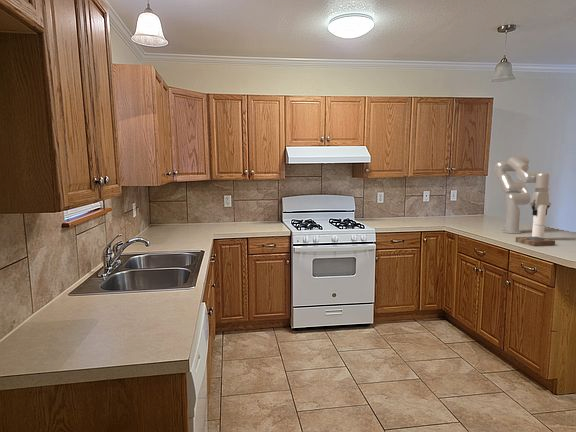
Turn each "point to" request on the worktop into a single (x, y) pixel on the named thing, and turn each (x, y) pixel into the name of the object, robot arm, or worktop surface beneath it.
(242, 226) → the worktop surface
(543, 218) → the cylindrical container
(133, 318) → the worktop surface
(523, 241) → the walnut base
